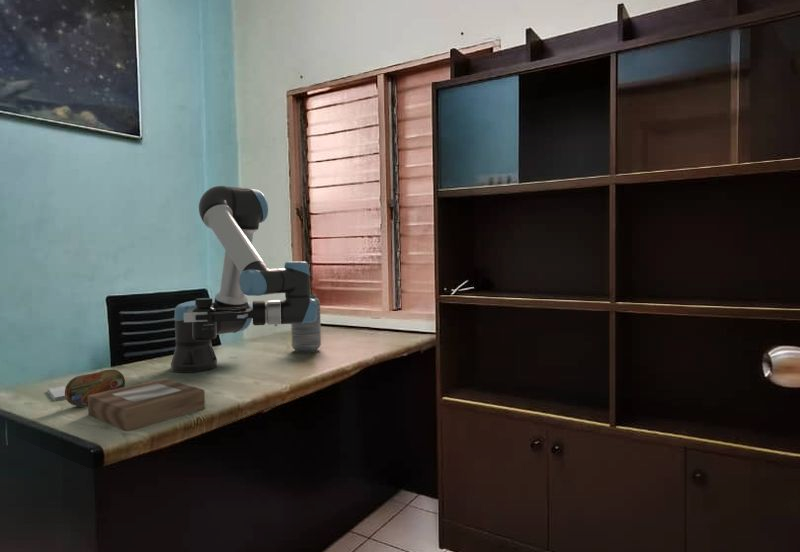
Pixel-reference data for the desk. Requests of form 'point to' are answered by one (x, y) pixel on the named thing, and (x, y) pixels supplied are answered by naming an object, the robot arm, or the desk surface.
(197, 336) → the supplement bottle
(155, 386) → the plinth
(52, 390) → the hard drive
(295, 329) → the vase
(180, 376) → the desk surface
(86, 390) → the tin
